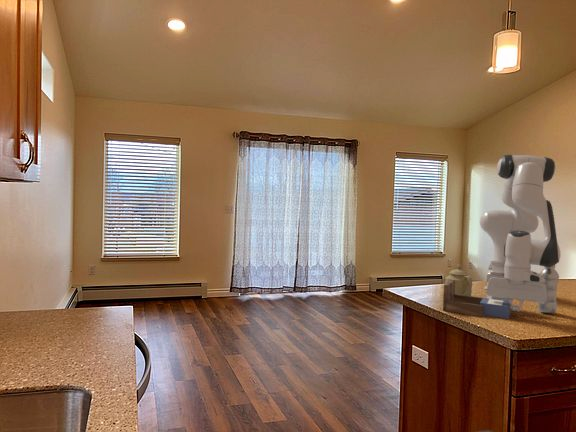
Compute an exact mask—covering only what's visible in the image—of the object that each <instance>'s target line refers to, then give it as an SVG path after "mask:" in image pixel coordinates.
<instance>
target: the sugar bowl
mask: <svg viewBox="0 0 576 432" xmlns="http://www.w3.org/2000/svg"><path fill="white" fill-rule="evenodd" d="M461 268H462V265H461V264H460V263H458V264H457V265H456V269H452V270H451V271H449V272H448V273H449V275H447V276H445V284H446V283H448V282H449V281H451V280H455V294H458V295H466V296H472V291H473V290H472V289H473V288H472V287H473V278H472V277H471V276H470V275H469V274H470V273H468V272H467V271H466V270H463V269H461ZM445 284H444V285H445Z"/></svg>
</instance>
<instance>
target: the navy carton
mask: <svg viewBox="0 0 576 432" xmlns="http://www.w3.org/2000/svg"><path fill="white" fill-rule="evenodd" d="M482 298H483V299H482V300H481V302H480V305H483V316H484V315H486V317H491V316H492V317H491V318H498V317H500V318H499V319H505V318H506V320H509V319H510V316H511V305H510V303H509V302H508V301H501V300H493V299H484V298H485V297H482Z"/></svg>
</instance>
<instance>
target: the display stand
mask: <svg viewBox="0 0 576 432" xmlns="http://www.w3.org/2000/svg"><path fill="white" fill-rule="evenodd" d="M445 283H446V282H445ZM442 298H443V301H442V311H444V312H449V313H456V314H457V313H458V314H461V315H462V314H463V315H469V316H470V315H471V316H476V317H477V316H478V317H483V316H484V315H483V305H480V302H481V300H482V299H483V298H484V299H488V298H487V297H481V296H480V297H479V296H472V295H471V296H466V295H458V294H455V280H451V281H449V282H448V283H446V284H444V285H443V297H442Z"/></svg>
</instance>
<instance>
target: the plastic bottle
mask: <svg viewBox="0 0 576 432" xmlns="http://www.w3.org/2000/svg"><path fill="white" fill-rule="evenodd" d="M543 267H544V268H543V269H542V270H541V271H540V272H539V274H541V275H543V276H544V281H543V282H544V283H545V285H546V289H547V301H546V302H545V303H542V302H537V310H538V311H539V312H541V313H544V314H555V313H556V312H557V311H558V303H557V290H558V284H559V280H560V276H559V275H560V274H559V273H558V271H557V270H556V269H555V268H556V264H555V265H554V266H552V267H545V266H543Z"/></svg>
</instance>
